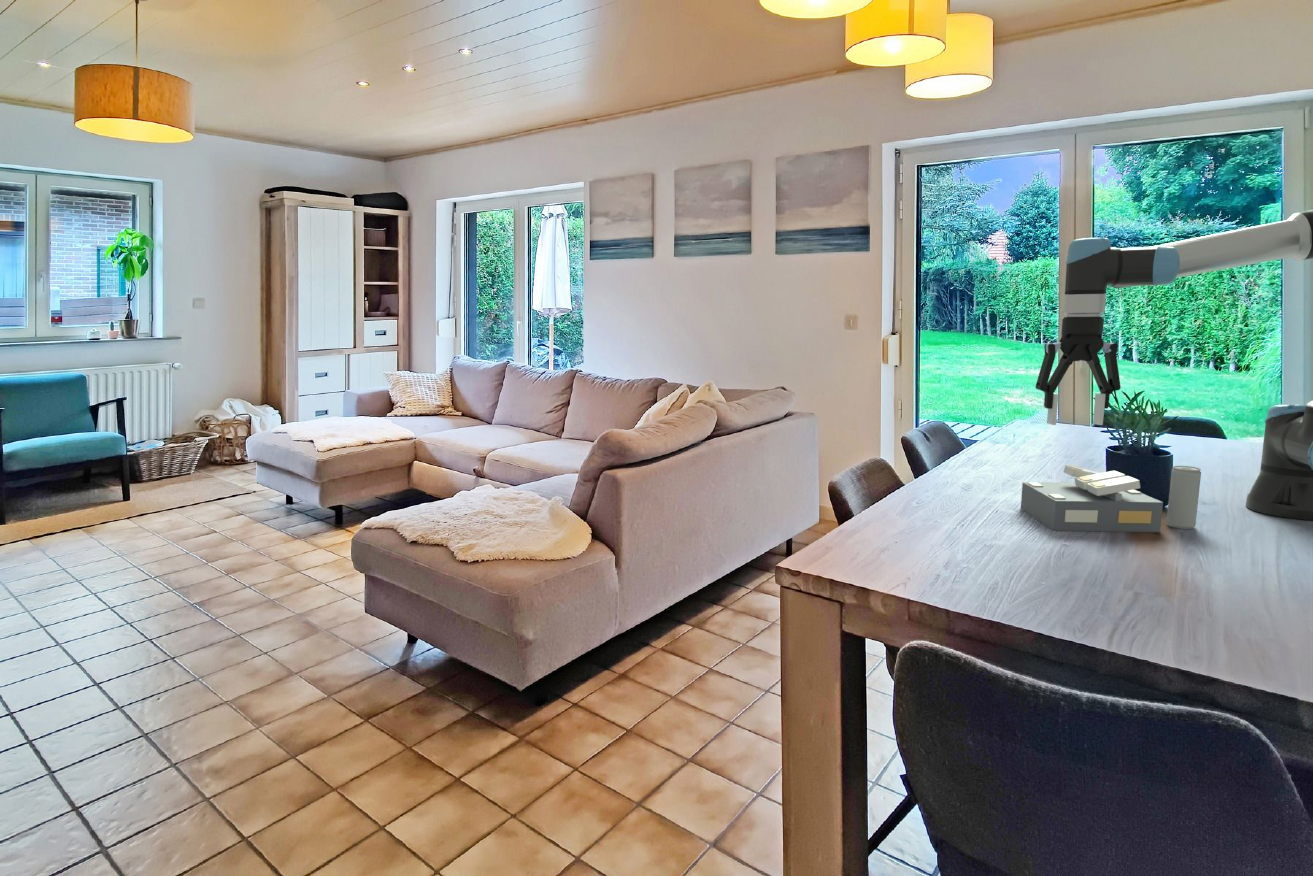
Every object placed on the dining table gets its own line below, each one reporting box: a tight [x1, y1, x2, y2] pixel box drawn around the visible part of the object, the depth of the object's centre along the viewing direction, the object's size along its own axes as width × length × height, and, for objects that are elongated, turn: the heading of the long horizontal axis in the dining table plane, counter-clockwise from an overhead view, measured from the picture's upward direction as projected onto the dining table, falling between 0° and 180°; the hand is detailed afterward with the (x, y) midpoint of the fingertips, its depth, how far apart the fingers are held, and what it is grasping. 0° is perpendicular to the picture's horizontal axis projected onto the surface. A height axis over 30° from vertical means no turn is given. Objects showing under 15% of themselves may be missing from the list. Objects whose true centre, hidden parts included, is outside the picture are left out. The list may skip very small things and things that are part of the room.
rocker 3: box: [1087, 475, 1141, 496], centre depth 150 cm, size 8×4×2 cm, turn 83°
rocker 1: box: [1062, 464, 1102, 478], centre depth 161 cm, size 8×4×2 cm, turn 86°
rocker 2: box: [1074, 469, 1126, 490], centre depth 155 cm, size 8×4×2 cm, turn 83°
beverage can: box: [1166, 465, 1202, 530], centre depth 150 cm, size 5×5×12 cm
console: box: [1020, 481, 1164, 533], centre depth 156 cm, size 20×17×7 cm
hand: (1074, 424), depth 159 cm, fingers open, 9 cm apart
